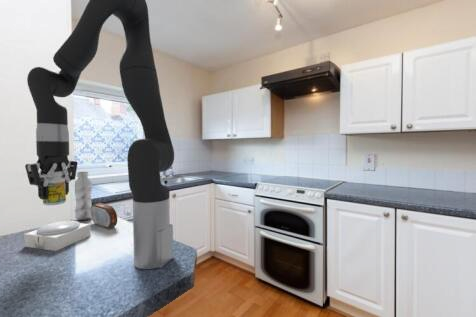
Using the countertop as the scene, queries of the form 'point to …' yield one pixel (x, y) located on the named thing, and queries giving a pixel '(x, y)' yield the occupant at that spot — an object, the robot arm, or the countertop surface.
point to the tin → (104, 215)
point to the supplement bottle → (56, 190)
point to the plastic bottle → (83, 196)
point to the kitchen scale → (57, 235)
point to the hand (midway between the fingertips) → (54, 196)
